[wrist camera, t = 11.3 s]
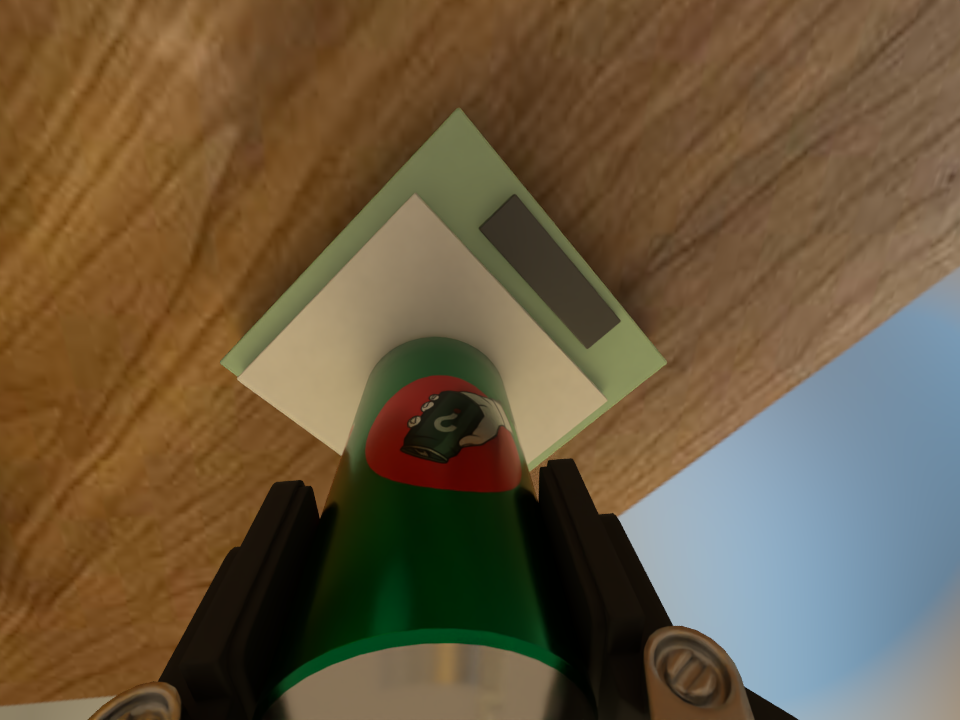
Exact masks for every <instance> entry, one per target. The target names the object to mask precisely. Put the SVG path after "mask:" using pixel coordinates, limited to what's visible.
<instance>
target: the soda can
mask: <svg viewBox="0 0 960 720" xmlns="http://www.w3.org/2000/svg"><path fill="white" fill-rule="evenodd" d="M598 716H599V714H598V709H597V704H596V699H595V695H594V692H593V688H592V685H591V681H590V678H589V674H588V671H587V668H586V664H585V661H584V657H583V654H582V650H581V647H580V644H579V640H578V637H577V633H576V630H575V626H574V623H573V620H572V616H571V613H570V609H569V606H568V602H567V599H566V596H565V592H564V589H563V585H562V582H561V578H560V575H559V572H558V568H557V565H556V561H555V558H554V554H553V551H552V548H551V544H550V541H549V537H548V534H547V531H546V527H545V524H544V520H543V517H542V513H541V510H540V507H539V503H538V500H537V496H536V493H535V489H534V486H533V483H532V479H531V476H530V472H529V469H528V465H527V462H526V459H525V455H524V452H523V448H522V445H521V441H520V438H519V435H518V431H517V428H516V424H515V421H514V417H513V414H512V411H511V407H510V404H509V400H508V397H507V393H506V390H505V387H504V383H503V380H502V378H501V376H500V373H499V371H498V370H497V368H496V367H495V365H494V364H493V363H492V362H491V360H490V359H489V358H488V357H487V356H486V355H485V354H483V353H482V352H481V351H479V350H478V349H477V348H475V347H473V346H471V345H469V344H467V343H465V342H462V341H459V340H456V339H451V338H447V337H424V338H419V339H415V340H411V341H408V342H406V343H403V344H401V345H399V346H397V347H395V348H394V349H392V350H390V351H389V352H388V353H387V354H386V355H384V356H383V357H382V358H381V359H380V360H379V362H378V363H377V364H376V365H375V366H374V368H373V370H372V371H371V373H370V375H369V377H368V380H367V383H366V386H365V389H364V391H363V394H362V397H361V400H360V403H359V406H358V409H357V412H356V415H355V418H354V421H353V424H352V427H351V430H350V433H349V436H348V438H347V441H346V444H345V447H344V450H343V453H342V456H341V459H340V462H339V465H338V468H337V471H336V474H335V477H334V480H333V483H332V485H331V488H330V491H329V494H328V497H327V500H326V503H325V506H324V509H323V512H322V515H321V518H320V521H319V524H318V527H317V529H316V532H315V535H314V538H313V541H312V544H311V547H310V550H309V553H308V556H307V559H306V562H305V565H304V568H303V571H302V574H301V576H300V579H299V582H298V585H297V588H296V591H295V594H294V597H293V600H292V603H291V606H290V609H289V612H288V615H287V618H286V621H285V623H284V626H283V629H282V632H281V635H280V638H279V641H278V644H277V647H276V650H275V653H274V656H273V659H272V662H271V665H270V667H269V670H268V673H267V676H266V679H265V682H264V685H263V688H262V691H261V694H260V697H259V700H258V703H257V706H256V709H255V712H254V714H253V717H252V720H598Z"/></svg>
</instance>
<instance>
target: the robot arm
mask: <svg viewBox="0 0 960 720" xmlns="http://www.w3.org/2000/svg"><path fill="white" fill-rule="evenodd" d="M539 507H540V510H541V513H542V517H543V520H544V524H545V527H546V531H547V534H548V537H549V541H550V544H551V548H552V551H553V554H554V558H555V561H556V565H557V568H558V572H559V575H560V578H561V582H562V585H563V589H564V592H565V596H566V599H567V602H568V606H569V609H570V613H571V616H572V620H573V623H574V626H575V630H576V633H577V637H578V640H579V644H580V647H581V650H582V654H583V657H584V661H585V664H586V668H587V671H588V674H589V678H590V681H591V685H592V688H593V692H594V695H595V699H596V704H597V709H598V714H599V716H598V720H798V719H797V718H795V717H793V716H792V715H790V714H789V713H787V712H785V711H784V710H782V709H780V708H779V707H777V706H775V705H774V704H772V703H770V702H769V701H767V700H765V699H764V698H762V697H761V696H759V695H757V694H756V693H754V692H752V691H750V690H749V689H747V688H746V687H744V685H743V682H742V678H741V676H740V674H739V672H738V669H737V667H736V665H735V663H734V662H733V660H732V659H731V658H730V657H729V655H728V654H727V653H726V651H725V650H724V649H723V648H722V647H721V646H719V645H718V644H717V643H716V642H715V641H714V640H712V639H711V638H709V637H708V636H706V635H704V634H702V633H700V632H699V631H697V630H694V629H691V628H687V627H684V626H673V625H672V623H671V621H670V619H669V617H668V615H667V613H666V611H665V609H664V607H663V605H662V603H661V601H660V599H659V597H658V595H657V593H656V592H655V590H654V587H653V586H652V584H651V582H650V580H649V578H648V576H647V574H646V572H645V570H644V568H643V566H642V564H641V562H640V560H639V558H638V556H637V554H636V552H635V550H634V548H633V547H632V544H631V543H630V541H629V539H628V537H627V535H626V533H625V531H624V529H623V527H622V525H621V523H620V521H619V519H618V518H617V516H616V515H614V514H613V513H611V514H600V515H599V514H598V512H597V510H596V508H595V506H594V503H593V501H592V499H591V497H590V495H589V493H588V490H587V488H586V486H585V484H584V482H583V480H582V477H581V475H580V473H579V471H578V469H577V466H576V464H575V462H574V460H573V459H571V458H570V459H557V460H549V461H548V463H547V467H540V472H539ZM319 521H320V518H319V513H318V509H317V505H316V500H315V496H314V492H313V488H312V487H311V486H305V485H304V483H303V481H301V480H296V481H284V482H276V483H274V484H273V485H272V487H271V489H270V491H269V493H268V494H267V496H266V498H265V500H264V502H263V504H262V506H261V508H260V510H259V512H258V514H257V516H256V518H255V519H254V521H253V523H252V525H251V527H250V529H249V531H248V533H247V535H246V537H245V539H244V541H243V543H242V544H241V546H240V547H234V548H233V549H232V550H230V552H229V553H228V554H227V556H226V557H225V559H224V561H223V563H222V565H221V567H220V568H219V570H218V572H217V574H216V576H215V578H214V579H213V581H212V583H211V585H210V587H209V589H208V590H207V592H206V594H205V596H204V598H203V600H202V601H201V603H200V605H199V607H198V609H197V611H196V612H195V614H194V616H193V618H192V620H191V622H190V623H189V625H188V627H187V629H186V631H185V633H184V634H183V636H182V638H181V640H180V642H179V644H178V646H177V647H176V649H175V651H174V653H173V655H172V657H171V658H170V660H169V662H168V664H167V666H166V668H165V669H164V671H163V673H162V675H161V677H160V679H159V680H158V682H154V681H153V682H149V683H145V684H140V685H137V686H135V687H133V688H131V689H128V690H126V691H124V692H122V693H120V694H119V695H117V696H116V697H114V698H113V699H112V700H110V701H109V702H107V703H106V704H104V705H103V706H102V707H101V708H100V709H99V710H97V711H96V712H95V713H94V714H93V715H92V716H91V717H90V718H89V719H88V720H252V717H253V714H254V712H255V709H256V706H257V703H258V700H259V697H260V694H261V691H262V688H263V685H264V682H265V679H266V676H267V673H268V670H269V667H270V665H271V662H272V659H273V656H274V653H275V650H276V647H277V644H278V641H279V638H280V635H281V632H282V629H283V626H284V623H285V621H286V618H287V615H288V612H289V609H290V606H291V603H292V600H293V597H294V594H295V591H296V588H297V585H298V582H299V579H300V576H301V574H302V571H303V568H304V565H305V562H306V559H307V556H308V553H309V550H310V547H311V544H312V541H313V538H314V535H315V532H316V529H317V527H318V524H319Z"/></svg>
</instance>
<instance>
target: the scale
mask: <svg viewBox="0 0 960 720" xmlns="http://www.w3.org/2000/svg"><path fill="white" fill-rule="evenodd" d="M424 337H447V338H451V339H456V340H459V341H462V342H465V343H467V344H469V345H471V346H473V347H475V348H477V349H478V350H479V351H481V352H482V353H483V354H485V355H486V356H487V357H488V358H489V359H490V360H491V362H492V363H493V364H494V365H495V367H496V368H497V370H498V371H499V373H500V376H501V378H502V380H503V383H504V387H505V390H506V393H507V397H508V400H509V404H510V407H511V411H512V414H513V417H514V421H515V424H516V428H517V431H518V435H519V438H520V441H521V445H522V448H523V452H524V455H525V459H526V462H527V465H528V469H529V472H530V471H531V470H532V469H534V468H535V467H536V466H537V465H539V464H540V463H541V462H542V461H544V460H545V459H546V458H548V457H549V456H550V455H551V454H553V453H554V452H555V451H556V450H558V449H559V448H560V447H562V446H563V445H564V444H565V443H567V442H568V441H569V440H570V439H572V438H573V437H574V436H575V435H577V434H578V433H579V432H581V431H582V430H583V429H584V428H586V427H587V426H588V425H589V424H591V423H592V422H593V421H594V420H596V419H597V418H598V417H600V416H601V415H602V414H603V413H605V412H606V411H607V410H608V409H610V408H611V407H612V406H614V405H615V404H616V403H617V402H619V401H620V400H621V399H622V398H624V397H625V396H626V395H627V394H629V393H630V392H631V391H633V390H634V389H635V388H636V387H638V386H639V385H640V384H641V383H643V382H644V381H645V380H646V379H648V378H649V377H650V376H652V375H653V374H654V373H655V372H657V371H658V370H659V369H660V368H662V367H663V366H664V365H666V364H667V361H666V359H665V358H664V357H663V356H662V355H661V353H660V352H659V351H658V350H657V348H656V347H655V346H654V345H653V344H652V342H651V341H650V340H649V339H648V337H647V336H646V335H645V334H644V332H643V331H642V330H641V329H640V328H639V326H638V325H637V324H636V323H635V321H634V320H633V319H632V318H631V317H630V315H629V314H628V313H627V312H626V310H625V309H624V308H623V307H622V306H621V304H620V303H619V302H618V301H617V299H616V298H615V297H614V296H613V295H612V293H611V292H610V291H609V290H608V288H607V287H606V286H605V285H604V283H603V282H602V281H601V280H600V279H599V277H598V276H597V275H596V274H595V272H594V271H593V270H592V269H591V268H590V266H589V265H588V264H587V263H586V261H585V260H584V259H583V258H582V257H581V255H580V254H579V253H578V252H577V250H576V249H575V248H574V247H573V246H572V244H571V243H570V242H569V241H568V239H567V238H566V237H565V236H564V234H563V233H562V232H561V231H560V230H559V228H558V227H557V226H556V225H555V223H554V222H553V221H552V220H551V219H550V217H549V216H548V215H547V214H546V212H545V211H544V210H543V209H542V208H541V206H540V205H539V204H538V203H537V201H536V200H535V199H534V198H533V197H532V195H531V194H530V193H529V192H528V190H527V189H526V188H525V187H524V185H523V184H522V183H521V182H520V181H519V179H518V178H517V177H516V176H515V174H514V173H513V172H512V171H511V170H510V168H509V167H508V166H507V165H506V163H505V162H504V161H503V160H502V159H501V157H500V156H499V155H498V154H497V152H496V151H495V150H494V149H493V147H492V146H491V145H490V144H489V143H488V141H487V140H486V139H485V138H484V136H483V135H482V134H481V133H480V132H479V130H478V129H477V128H476V127H475V125H474V124H473V123H472V122H471V121H470V119H469V118H468V117H467V116H466V114H465V113H464V112H463V111H462V110H461V108H457V109H456V110H455V111H454V112H453V113H452V114H451V115H450V116H449V117H448V118H447V119H446V120H445V121H444V123H443V124H442V125H441V126H440V127H439V128H438V129H437V130H436V131H435V132H434V133H433V134H432V135H431V136H430V137H429V139H428V140H427V141H426V142H425V143H424V144H423V145H422V146H421V147H420V148H419V149H418V150H417V151H416V152H415V154H414V155H413V156H412V157H411V158H410V159H409V160H408V161H407V162H406V163H405V164H404V165H403V166H402V167H401V168H400V170H399V171H398V172H397V173H396V174H395V175H394V176H393V177H392V178H391V179H390V180H389V181H388V182H387V183H386V185H385V186H384V187H383V188H382V189H381V190H380V191H379V192H378V193H377V194H376V195H375V196H374V197H373V198H372V199H371V201H370V202H369V203H368V204H367V205H366V206H365V207H364V208H363V209H362V210H361V211H360V212H359V213H358V214H357V216H356V217H355V218H354V219H353V220H352V221H351V222H350V223H349V224H348V225H347V226H346V227H345V228H344V229H343V230H342V232H341V233H340V234H339V235H338V236H337V237H336V238H335V239H334V240H333V241H332V242H331V243H330V244H329V245H328V246H327V248H326V249H325V250H324V251H323V252H322V253H321V254H320V255H319V256H318V257H317V258H316V259H315V260H314V261H313V263H312V264H311V265H310V266H309V267H308V268H307V269H306V270H305V271H304V272H303V273H302V274H301V275H300V276H299V277H298V279H297V280H296V281H295V282H294V283H293V284H292V285H291V286H290V287H289V288H288V289H287V290H286V291H285V292H284V294H283V295H282V296H281V297H280V298H279V299H278V300H277V301H276V302H275V303H274V304H273V305H272V306H271V307H270V308H269V310H268V311H267V312H266V313H265V314H264V315H263V316H262V317H261V318H260V319H259V320H258V321H257V322H256V323H255V325H254V326H253V327H252V328H251V329H250V330H249V331H248V332H247V333H246V334H245V335H244V336H243V337H242V338H241V339H240V341H239V342H238V343H237V344H236V345H235V346H234V347H233V348H232V349H231V350H230V351H229V352H228V353H227V354H226V356H225V357H224V358H223V359H222V360H221V361H220V364H221V365H223V366H224V367H226V368H227V369H228V370H230V371H231V372H232V373H234V374H235V375H236V376H238V377H237V380H238V381H240V382H241V383H242V384H244V385H245V386H246V387H248V388H249V389H251V390H252V391H253V392H255V393H256V394H257V395H259V396H260V397H261V398H263V399H264V400H266V401H267V402H268V403H270V404H271V405H272V406H274V407H275V408H277V409H278V410H279V411H281V412H282V413H283V414H285V415H286V416H288V417H289V418H290V419H292V420H293V421H294V422H296V423H297V424H298V425H300V426H301V427H303V428H304V429H305V430H307V431H308V432H309V433H311V434H312V435H314V436H315V437H316V438H318V439H319V440H320V441H322V442H323V443H325V444H326V445H327V446H329V447H330V448H331V449H333V450H334V451H336V452H337V453H338V454H340V455H341V456H342V453H343V450H344V447H345V444H346V441H347V438H348V436H349V433H350V430H351V427H352V424H353V421H354V418H355V415H356V412H357V409H358V406H359V403H360V400H361V397H362V394H363V391H364V389H365V386H366V383H367V380H368V377H369V375H370V373H371V371H372V370H373V368H374V366H375V365H376V364H377V363H378V362H379V360H380V359H381V358H382V357H383V356H384V355H386V354H387V353H388V352H389V351H390V350H392V349H394V348H395V347H397V346H399V345H401V344H403V343H406V342H408V341H411V340H415V339H419V338H424Z"/></svg>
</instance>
